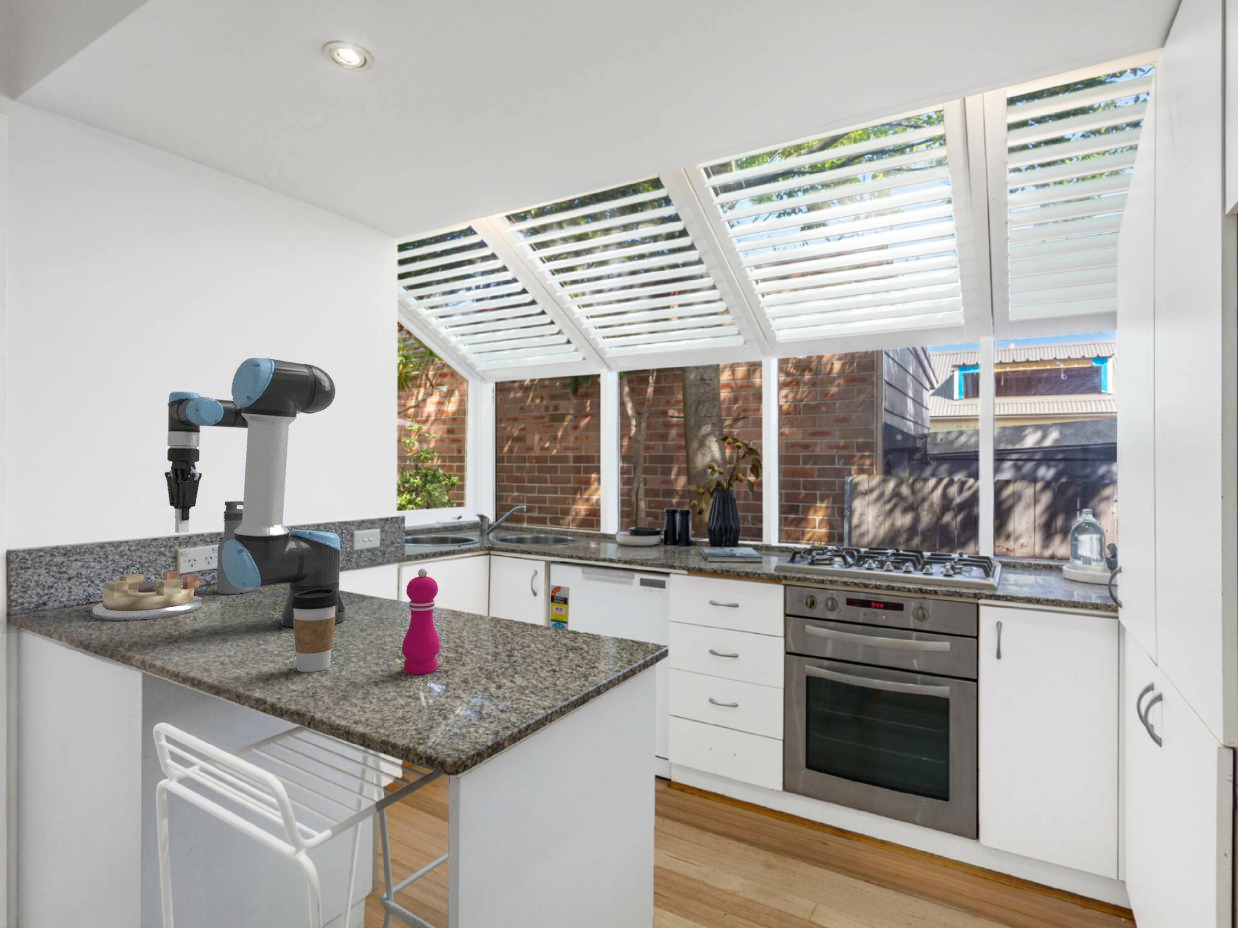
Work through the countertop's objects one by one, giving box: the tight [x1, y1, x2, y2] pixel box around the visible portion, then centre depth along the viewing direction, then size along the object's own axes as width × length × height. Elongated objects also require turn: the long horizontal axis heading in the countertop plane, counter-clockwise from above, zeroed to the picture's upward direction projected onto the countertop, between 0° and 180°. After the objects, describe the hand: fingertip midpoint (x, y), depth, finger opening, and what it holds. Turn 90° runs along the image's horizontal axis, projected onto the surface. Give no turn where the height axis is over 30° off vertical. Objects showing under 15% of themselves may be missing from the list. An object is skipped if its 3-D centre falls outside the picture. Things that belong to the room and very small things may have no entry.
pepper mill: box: [401, 567, 441, 675], centre depth 134 cm, size 7×7×20 cm
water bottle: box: [216, 500, 254, 595], centre depth 210 cm, size 10×10×28 cm
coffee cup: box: [291, 588, 338, 673], centre depth 134 cm, size 8×8×15 cm
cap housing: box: [92, 595, 203, 622], centre depth 182 cm, size 24×24×4 cm
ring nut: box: [102, 570, 200, 610], centre depth 182 cm, size 20×20×6 cm
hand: (181, 532), depth 189 cm, fingers closed
